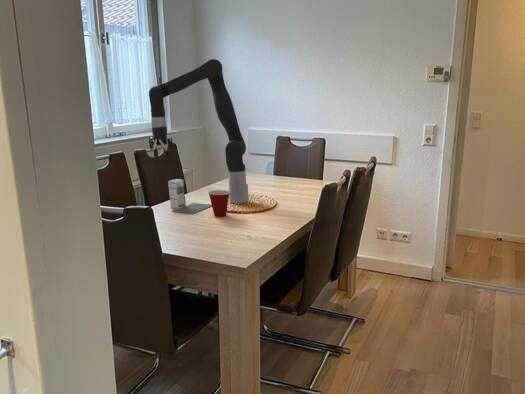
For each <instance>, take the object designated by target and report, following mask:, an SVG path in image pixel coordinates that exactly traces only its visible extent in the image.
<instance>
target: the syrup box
mask: <svg viewBox="0 0 525 394" xmlns="http://www.w3.org/2000/svg"><path fill="white" fill-rule="evenodd" d="M184 183H185V182H184V179H182V178H175V179H171V180H168V181H167V185H168V193H169V194H168V195H169V203H170V205H169V206H170V208H172V209H179V208H182V207H184V206H187V204H186V194H185V184H184Z"/></svg>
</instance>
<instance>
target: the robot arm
mask: <svg viewBox="0 0 525 394" xmlns="http://www.w3.org/2000/svg"><path fill="white" fill-rule="evenodd" d="M204 80H208V83H209V85H210V88H211V92H212V98H213V104H214V108H215V112H216V115H217V117H218V120H219V122H220V124H221V126H222V127H223V128H224V129H225V131H226V135H227V137H228V138H227V139H228V142H227V143H226V145H225V149H224V153H225V163H226V167H227V175H228V177H227V178H228V191H229V192H231V193H230V195H229V203H230V204H232V203H234V205H241V204H242V205H243V203H244V204H245V203H248V202H249V184H248V183H247V174H246V164H245V163H244V161H243V160H244V157H243V156H244V155H245V154H246V151H247V145H246V142H245V140H244V137H243V135H242V132H241V129H240V126H239V122H238V119H237V115H236V111H235V108H234V104H233V102H232V98H231V96H230V94H229V91H228V90H227V87H226V84H225V78H224V74H223V65H222V63H221V61H220V60H218V59H215V58H212V59H208V60H207V61H205V63H203V64H202V65H200V66H198V67H196V68H195V69H191V70H190V71H188V72H185V73H183V74H181V75H178V76H176V77H173V78H170V79H169V80H167V81H165V82H163V83H159V84H158V85H154V86H152V87H150V89H149V91H148V98H149V99H148V100H149V103H150V115H151V121H150V122H151V133H152V135H153V136H152V137H148V142H149V149H150V150H152V151H153V156H154V158H158V157H159V150H158V149H159V147H162V148H163V149H164V150H165V158H166V159H170V158H171V151H172V150H173V149H174V146H173V145H174V144H173V137H168V136H167V135H168V125H167V117H166V109H165V105H164V98H166V97H168V96H170V95H174V94H176V93H178V92H181V91H183V90H185V89H187V88H189V87H191V86H192V85H194V84H197V83H199V82H200V81H204ZM240 203H241V204H240Z"/></svg>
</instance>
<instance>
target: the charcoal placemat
mask: <svg viewBox="0 0 525 394" xmlns="http://www.w3.org/2000/svg"><path fill="white" fill-rule="evenodd" d="M209 208H212V204H210V203H209V204H208V203H201V202H200V203H198V202H193V203H189V204H186V206H184V207H181V208H179V209H177V208H175V209H173V210H172V213H179V214H180V213H181V214H188V215H194V214H197V213H199V212H202V211H204V210H207V209H209Z"/></svg>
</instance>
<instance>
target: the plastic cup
mask: <svg viewBox="0 0 525 394" xmlns="http://www.w3.org/2000/svg"><path fill="white" fill-rule="evenodd" d="M230 193H231V192H229V190H209V191H207V194H208V195H209V199H210V203H211V204H210V205H212V207H211V209H212V211H213V215H214V217H215V218H223V217H226V216H227V214H228V213H227V212H228V205H229V204H228V203H229V199H230Z"/></svg>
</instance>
